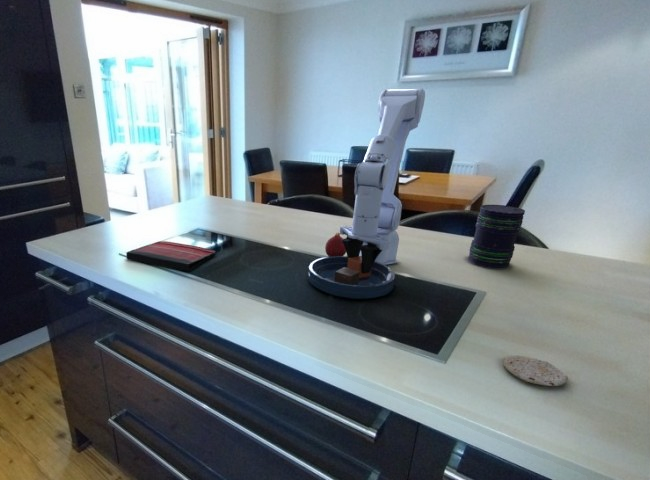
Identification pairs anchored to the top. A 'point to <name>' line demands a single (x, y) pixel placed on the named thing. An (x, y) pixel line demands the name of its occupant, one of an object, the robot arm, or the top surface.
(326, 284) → the bowl
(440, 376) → the top surface
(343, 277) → the walnut block
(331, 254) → the onion
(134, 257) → the binder
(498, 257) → the storage jar
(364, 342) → the top surface
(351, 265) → the terracotta block
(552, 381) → the flatbread
